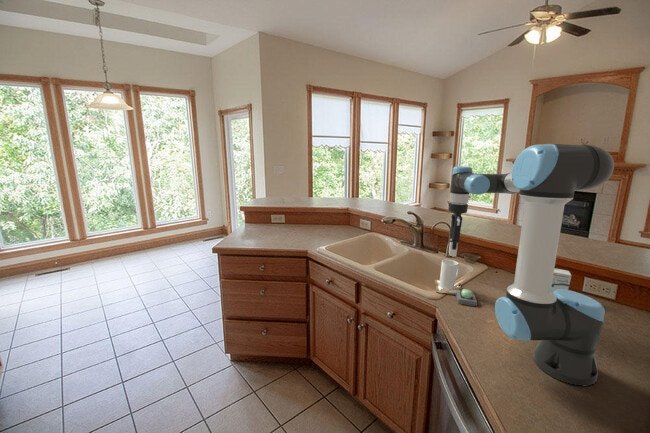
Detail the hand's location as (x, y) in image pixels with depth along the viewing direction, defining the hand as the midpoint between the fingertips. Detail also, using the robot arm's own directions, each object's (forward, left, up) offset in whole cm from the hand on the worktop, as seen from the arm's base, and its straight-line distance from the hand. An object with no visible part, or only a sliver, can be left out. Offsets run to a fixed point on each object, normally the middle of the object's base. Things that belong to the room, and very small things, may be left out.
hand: (452, 254), depth 135 cm
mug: (0, 0, -16) cm, 16 cm away
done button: (-10, -6, -15) cm, 19 cm away
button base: (-10, -6, -17) cm, 20 cm away
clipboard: (0, 0, -17) cm, 17 cm away
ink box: (+7, -44, -17) cm, 48 cm away
